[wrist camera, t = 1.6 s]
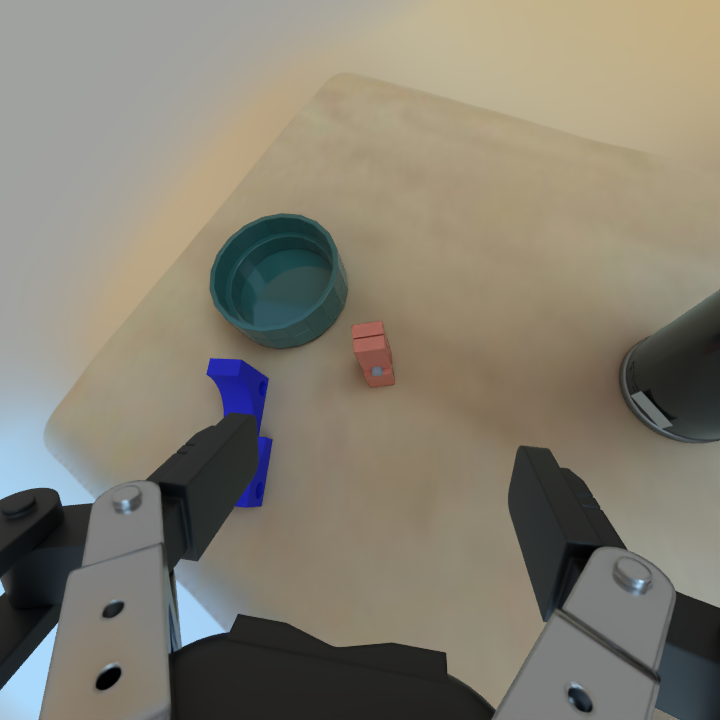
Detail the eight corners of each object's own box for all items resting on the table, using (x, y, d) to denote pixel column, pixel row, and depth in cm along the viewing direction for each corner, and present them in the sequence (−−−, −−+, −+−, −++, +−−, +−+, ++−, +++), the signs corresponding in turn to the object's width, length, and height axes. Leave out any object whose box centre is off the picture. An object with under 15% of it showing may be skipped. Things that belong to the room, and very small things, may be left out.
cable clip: (261, 506, 34) (228, 509, 29) (216, 500, 35) (176, 502, 29) (282, 379, 38) (257, 360, 32) (241, 377, 39) (210, 358, 33)
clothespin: (391, 351, 37) (381, 314, 29) (395, 384, 36) (385, 355, 28) (367, 355, 37) (350, 318, 29) (370, 388, 36) (354, 359, 28)
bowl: (343, 234, 42) (333, 202, 38) (352, 340, 38) (342, 319, 33) (235, 254, 44) (213, 226, 39) (232, 357, 40) (206, 340, 35)
